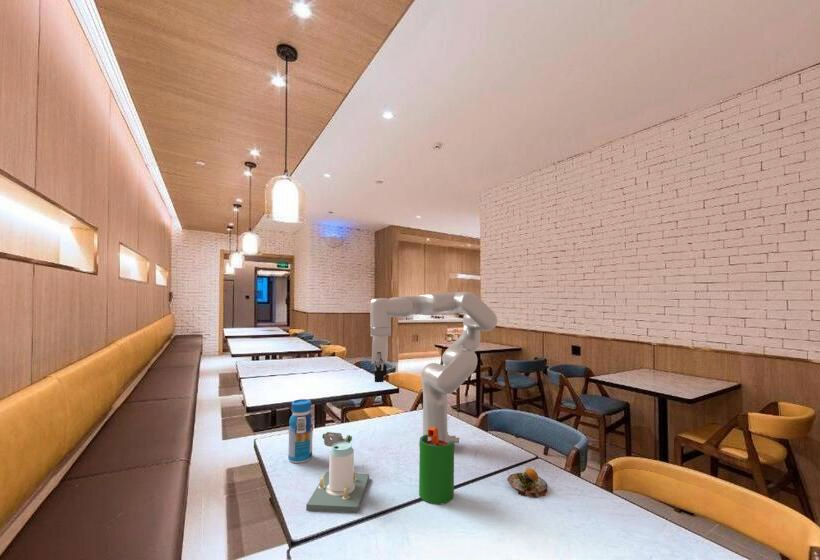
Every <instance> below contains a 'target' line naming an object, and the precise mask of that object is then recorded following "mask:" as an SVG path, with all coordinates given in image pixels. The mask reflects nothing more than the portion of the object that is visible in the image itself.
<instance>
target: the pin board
mask: <svg viewBox="0 0 820 560" xmlns="http://www.w3.org/2000/svg"><path fill="white" fill-rule="evenodd" d="M369 481H370V473H359V472H358V473H356V470H354V471H353V486H352V487H351V488H350V489H349V490H348V487H345V488H344V492H335V491H333V490H331V489H330V488H329V471H325V473H324V475H323V477H319V483H318V485H317V486H316V488H315V490H314V491H313V493H312V495H311V497H310V498H308V501H307V503H306V509H305V510H306V511H315V512H319V511H320V512H336V513H359V509H360V506H361V504H362V501H363V498H364V495H365V493H366V490H367V488H368V487H367V486H368V484H369Z"/></svg>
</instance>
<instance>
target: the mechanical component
mask: <svg viewBox="0 0 820 560" xmlns="http://www.w3.org/2000/svg"><path fill="white" fill-rule="evenodd" d="M321 436H322V439H323V440H324V442H323V443H324V446H326V447H329V448H330V447H331V448H332V445H333V444H335V443H338V442H348V443H350V444H351V441H352V440H353V436H352V435H349V434H348V435H346V437H345V438H344V437H343V434H342V432H330V431H327V432H326V433H323V434H322V435H321Z"/></svg>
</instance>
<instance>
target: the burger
mask: <svg viewBox="0 0 820 560" xmlns="http://www.w3.org/2000/svg"><path fill="white" fill-rule="evenodd" d="M536 467H537V466H535V468H531V467H526V468H525V471H524V472H517V473H512V474H510V475H508V477H507V478H506V480H507V482H508V484H509V486H510V487H512V488H513V489H515V490H516V491H517V494H518V496H519V495H520V496H521V497H526V495H527V494H529V496H530V497H531V498H533V499H536V498H537V499H538V498H539V497H542V496H544V497H545V496H546V495H547V494H548V492H549V490H548V483H547V482H546V480H545V479H543V478H542V477H540V476H539V475H538V473H537V471H536Z"/></svg>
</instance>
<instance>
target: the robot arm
mask: <svg viewBox="0 0 820 560" xmlns="http://www.w3.org/2000/svg"><path fill="white" fill-rule="evenodd" d="M369 305H370V307H369V314H370V315H369V316H370V318H369V320H370V324H369V325H370V327H369V331H370V333H369V334H370V337H372V343H371V364H372V365H374V383H384V381H385V377H386V376H387V375H388V374H387V373H388V364H387V361H388V356H389V353H388V352H389V341H388V339H389V337H391V336H392V321H391V319H392V318H407V317H409V316H410V315H414V316H415V315H420V316H422V315H423V316H438V315H439V316H440V315H449V314H450V315H451V314H464V315H463V318H462V321H463V322H462V323H463V324H462V325H463V326H462V327H463V330H462V333H461V334H460V336H459V337H458V338H457V339H456V340H455V341H454V342H453V343H452V344H450V346H448V347H447V349H445V351H444V352H443V353H442V356H441V360H442V364H441V363H436V362H430V363H428V364H427V365H425V366H424V367H423V369H422V371H421V374H420V375H421V376H420V379H421V386H422V396H423V397H422V398H423V399H422V436H423V435H426V434H427V435H428V429H429V428H430V427H435V428H437V429H438V436H439V440H442V441H445V442H447V443H448V444H449V443H450V442H452V441H454V444H460V437H456V435H450V434H449V432H448V395H450V394H452V393H454V392H455V391H457V390H458V388H460V386H462V385H463V384H464V383H465V382H466V380H468V378H469V377H470V376H471V375H472V374H473V373H474V371H476V369H477V366H478V356H477V354H476V350H478V348H479V347H480V345H481V344H480V343H481V336H482V335H481V332H490V331H492V330H494V329H495V328H496V327H497V325H498V318H497V315H496V313H495V312H494V310H492V309H491V307H489V306H488V305H487V304H486V303H485V302H484V301H483V300H482V299H481V298H479V297H478V296H477V295H476V294H474V293H473V292H470V291H459V292H458V291H454V292H453V291H452V292H441V293H440V292H439V293H437V292H436V293H425V294H420V295H419V294H418V295H411V296H410V295H409V296H397V297H390V298H385V297H384V298H383V297H380V298H372V299H371V300H370V304H369ZM430 440H431V437H428V441H430ZM418 446H419V448H420V440H418Z"/></svg>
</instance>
